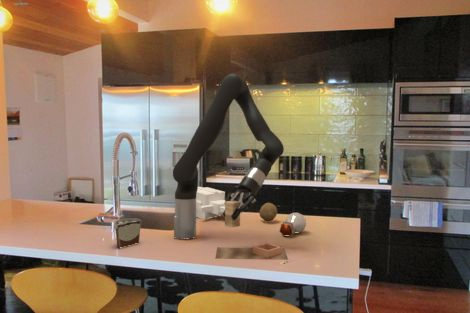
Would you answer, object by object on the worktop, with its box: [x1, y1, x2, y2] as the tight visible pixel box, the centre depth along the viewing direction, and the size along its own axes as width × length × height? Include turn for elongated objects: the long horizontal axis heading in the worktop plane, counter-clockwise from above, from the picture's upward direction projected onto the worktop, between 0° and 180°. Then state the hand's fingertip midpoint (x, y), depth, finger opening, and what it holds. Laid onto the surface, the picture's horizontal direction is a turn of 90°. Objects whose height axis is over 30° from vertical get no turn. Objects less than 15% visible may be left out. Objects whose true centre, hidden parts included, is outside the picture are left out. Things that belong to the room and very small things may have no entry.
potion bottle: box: [278, 212, 307, 236], centre depth 195 cm, size 9×10×15 cm
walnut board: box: [215, 246, 289, 261], centre depth 161 cm, size 26×14×2 cm, turn 89°
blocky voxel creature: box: [196, 186, 226, 220], centre depth 228 cm, size 15×25×28 cm
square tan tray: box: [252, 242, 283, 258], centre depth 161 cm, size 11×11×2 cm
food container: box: [113, 218, 143, 249], centre depth 175 cm, size 12×6×10 cm, turn 141°
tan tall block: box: [224, 201, 241, 229], centre depth 160 cm, size 4×4×9 cm
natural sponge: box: [259, 202, 278, 222], centre depth 218 cm, size 9×9×10 cm
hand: (228, 217), depth 159 cm, fingers closed on tan tall block, 4 cm apart
